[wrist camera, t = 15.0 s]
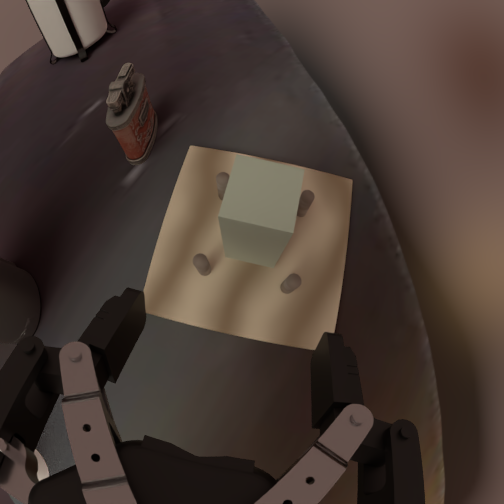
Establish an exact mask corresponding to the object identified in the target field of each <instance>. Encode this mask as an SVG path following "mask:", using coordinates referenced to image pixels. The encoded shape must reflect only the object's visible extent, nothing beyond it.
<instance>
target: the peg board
mask: <svg viewBox="0 0 504 504" xmlns="http://www.w3.org/2000/svg"><path fill="white" fill-rule="evenodd" d="M236 154H238V155H243V156H248V157H253V158H257V159H262V160H267V161H271V162H276V163H280V164H284V165H288V166H293V167H297V168H301V169H305V170H304V176H303V182H302V187H301V193H300V199H299V205H298V210H297V216H296V221H295V226H294V232H293V235H292V236H291V238H290V240H289V242H288V243H287V245H286V247H285V249H284V251H283V252H282V254H281V256H280V258H279V259H278V261H277V263H276V265H275V266H274V268H271V267H266V266H262V265H257V264H253V263H249V262H244V261H240V260H236V259H231V258H227V257H225V252H224V247H223V241H222V236H221V230H220V225H219V219H218V214H219V211H220V207H221V204H222V201H223V197H224V194H225V190H226V187H227V184H228V180H229V177H230V174H231V171H232V167H233V164H234V161H235V158H236ZM351 197H352V180H351V179H348V178H344V177H340V176H337V175H333V174H329V173H325V172H321V171H318V170H314V169H309V168H305V167H301V166H297V165H293V164H288V163H284V162H279V161H275V160H270V159H265V158H260V157H255V156H250V155H245V154H239V153H234V152H228V151H222V150H216V149H210V148H204V147H197V146H190V148H189V150H188V153H187V155H186V158H185V161H184V163H183V166H182V169H181V171H180V174H179V177H178V180H177V182H176V185H175V188H174V191H173V194H172V197H171V200H170V203H169V206H168V209H167V212H166V215H165V218H164V221H163V224H162V228H161V231H160V234H159V237H158V241H157V244H156V247H155V251H154V254H153V258H152V261H151V265H150V269H149V272H148V276H147V280H146V284H145V288H144V291H143V292H144V296H145V309H146V313H149V314H152V315H156V316H159V317H163V318H166V319H170V320H174V321H178V322H181V323H185V324H189V325H193V326H197V327H201V328H205V329H209V330H214V331H218V332H222V333H227V334H231V335H236V336H240V337H245V338H250V339H255V340H260V341H265V342H270V343H276V344H281V345H287V346H292V347H298V348H304V349H311V350H315V349H316V347H317V345H318V343H319V341H320V339H321V337H322V335H323V333H324V332H330V333H334V332H335V326H336V320H337V315H338V308H339V302H340V296H341V289H342V282H343V275H344V267H345V259H346V251H347V242H348V232H349V222H350V210H351Z"/></svg>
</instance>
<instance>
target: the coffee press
mask: <svg viewBox="0 0 504 504" xmlns="http://www.w3.org/2000/svg"><path fill="white" fill-rule="evenodd" d="M109 1H110V0H26V2H27V4H28V7H29V9H30V11H31V13H32V15H33V17H34V19H35V21H36V24H37V26H38V28H39V30H40V32H41V34H42V36H43V38H44V39H45V41H46V43H47V45H48V47H49V49H50V51H51V58H52V52H53V54H54V55H55V56H57V58H56V60H55V61H51V58H50V63H51V64H55V63H56V62H57V60H58V58H59V57H61V58H62V57H69V56H72V55H75V54H77V53H78V55H79V57H80V60H81V62H83V61H85V60H87V59H88V56H87V53H86V49H87V48H88V47H90V46H91V45H93V44H94V43H96V42H97V41H98V40H99V39H100V38H101V37H102V36H103V35H104V33H111V34H113V33H115V32H116V31H117V29H116V26H115V25H112V24H110V23H109V22H108V20H107V18H106V19H105V17H106V15H105V12H104V9H103V8H104V7H105V6H106V5H107V4H108V2H109ZM104 15H105V16H104ZM106 20H107V22H108V24H109V25H110V26H111V27H114V28H115V30H113V31H109V30H107V22H106Z"/></svg>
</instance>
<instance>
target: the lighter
mask: <svg viewBox="0 0 504 504" xmlns="http://www.w3.org/2000/svg"><path fill="white" fill-rule="evenodd" d="M134 72H135V69H134V66H133V64H132V63H126V64H124V65H123V67H122V69H121V71H120V73H119V75H118V77H117V79H116V81H115V82H111V83H110V85H109V96H108V98H107V101H106V102H107V104H108V106H109V107H108V110H107V116H106V124H107V126H108V127H109V129H111V130H112V131H113V132H114V134H115V136H116V138H117V140H118V141H119V143H120V145H121V147H122V148H123V150H124V152H125V153H126V158H127V160H128V162H129V163H130V164H132V165H138V164H141V163H143V162H145V161H146V159H147V158H148V156H149V154H150V151H151V149H152V147H153V144H154V141H155V138H156V132H157V124H158V118H157V115H156V112H155V111H154V110H153V108H152V105H151V102H150V99H149V96H148V93H147V90H146V87H145V78H144V75H143V74H141V73H134Z"/></svg>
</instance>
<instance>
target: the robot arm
mask: <svg viewBox="0 0 504 504" xmlns="http://www.w3.org/2000/svg"><path fill="white" fill-rule="evenodd" d="M39 317H40V296H39V291H38V288H37V285H36V282H35V281H34V279H33V277H32V276H31V275H30V274H29V273H28V272H27V271H25V270H23V269H21V268H18V267H16V266H15V264H14V263H12V262H10V261H7V260H5V259H2V258H0V343H7V344H17V346H16V347H15V349H14V350H13V352H12V353H11V355H10V356H9V358H8V359H7V361H6V363H5V364H4V366H3V367H2V369H1V371H0V487H1V488H2V489H3V490H5V491H6V492H8V493H9V494H10V495H12V496H13V497H15V498H16V499H18V500H19V501H21V502H22V503H24V504H318V503H319V502H320V501H321V499H322V498H323V497H324V496H325V495H326V494H327V492H328V491H329V490H330V489H331V488H332V486H333V485H334V484H335V483H336V481H337V480H338V479H339V478H340V476H341V475H342V474H343V473H344V471H345V470H346V468H347V466H348V464H347V463H348V461H349V460H353V461H356V462H358V497H357V504H425V493H424V480H423V469H422V460H421V452H420V444H419V437H418V432H417V429H416V427H415V426H414V424H413V423H411V422H410V421H408V420H404V419H401V420H397V421H396V422H394V423H393V424H390V423H386V422H383V421H380V420H377V419H375V418H373V415H372V413H371V412H370V410H369V409H368V408H366V407H365V406H364V403H363V396H362V390H361V384H360V377H359V372H358V368H357V360H356V356H355V354H354V353H353V351H352V350H351V348H350V347H345V346H344V343H343V337H342V335H341V334H337V333H330V332H324V333H323V335H322V337H321V339H320V341H319V343H318V345H317V347H316V349H315V351H314V353H313V356H312V359H311V398H312V428H316V429H320V436H319V437H318V438H317V439H316V440H315V441H314V442H313V443H312V444H311V446H310V447H309V448H308V449H307V450H306V451H305V452H304V453H303V454H302V455H301V456H300V457H299V458H298V459H297V460H296V461H295V462H294V463H293V464H292V465H291V466H290V467H289V468H288V469H287V470H286V471H285V472H284V473H283V474H282V475H281V476H280V477H279V478H278V479H276V480H275V479H274V478H273V477H272V476H271V475H270V474H268V473H266V472H265V471H263V470H261V469H259V468H257V467H254V463H255V461H253V460H246V459H240V458H234V457H228V456H224V457H198V456H195V455H193V454H191V453H189V452H187V451H185V450H183V449H181V448H179V447H177V446H175V445H173V444H172V443H169V442H165V441H162V440H159V439H155V438H152V437H149V436H146V435H145V436H144V439H143V441H142V440H132V441H125V442H122V439H121V437H120V434H119V432H118V430H117V427H116V425H115V422H114V419H113V416H112V412H111V409H110V406H109V402H108V399H107V395H106V392H105V388H104V386H105V384H106V382H107V380H108V381H110V382H113V383H116V381H117V379H118V377H119V375H120V373H121V371H122V369H123V367H124V365H125V363H126V361H127V359H128V357H129V355H130V353H131V351H132V350H133V348H134V346H135V344H136V342H137V340H138V338H139V336H140V334H141V333H142V331H143V329H144V326H145V322H146V309H145V296H144V292H142V291H139V290H135V289H131V288H127V289H126V290H125V291H124V292H123V294H122V295H121V296H120V297H118V296H114V297H112V298H111V299H109V300H108V301H106V302H105V304H104V305H103V306H102V308H101V309H100V311H99V312H98V313H97V314H96V317H94V319H93V320H92V321H91V323H90V324H89V326H88V327H87V329H86V330H85V331H84V333H83V334H82V336H81V337H80V339H79V340H78V341H77V342H70V343H68V344H66V345H65V346H64V347H63V348H54V347H46V346H44V345H43V342H42V341H41V339H39V338H38V337H35V336H32V335H33V334H34V332H35V330H36V328H37V325H38V322H39ZM60 394H63V395H64V399H62V408H63V413H64V419H65V423H66V428H67V432H68V437H69V441H70V445H71V449H72V452H73V456H74V460H75V463H76V465H74V466H72V467H69V468H67V469H65V470H63V471H61V472H58V473H56V474H54V475H52V476H49V477H47V478H45V479H42V480H40V481H39V480H38V477H37V472H38V460H37V458H36V456H35V454H34V451H35V449H36V446H37V444H38V441H39V439H40V437H41V434H42V432H43V430H44V427H45V425H46V423H47V421H48V418H49V416H50V414H51V412H52V410H53V408H54V405H55V403H56V401H57V399H58V397H59V395H60Z"/></svg>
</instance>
